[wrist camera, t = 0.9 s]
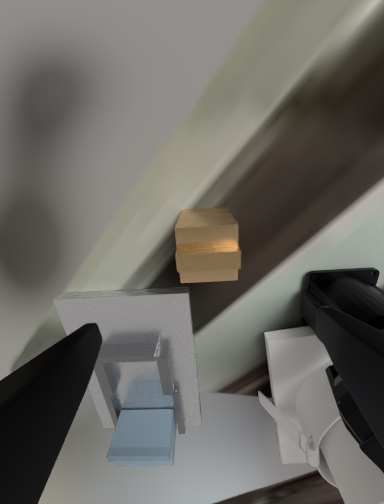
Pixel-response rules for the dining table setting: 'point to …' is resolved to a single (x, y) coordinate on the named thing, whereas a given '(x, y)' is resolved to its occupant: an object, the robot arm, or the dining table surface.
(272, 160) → the dining table surface
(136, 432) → the block
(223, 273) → the block
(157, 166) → the dining table surface
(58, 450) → the robot arm
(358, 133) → the dining table surface
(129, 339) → the seat jig
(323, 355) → the recessed light fixture
